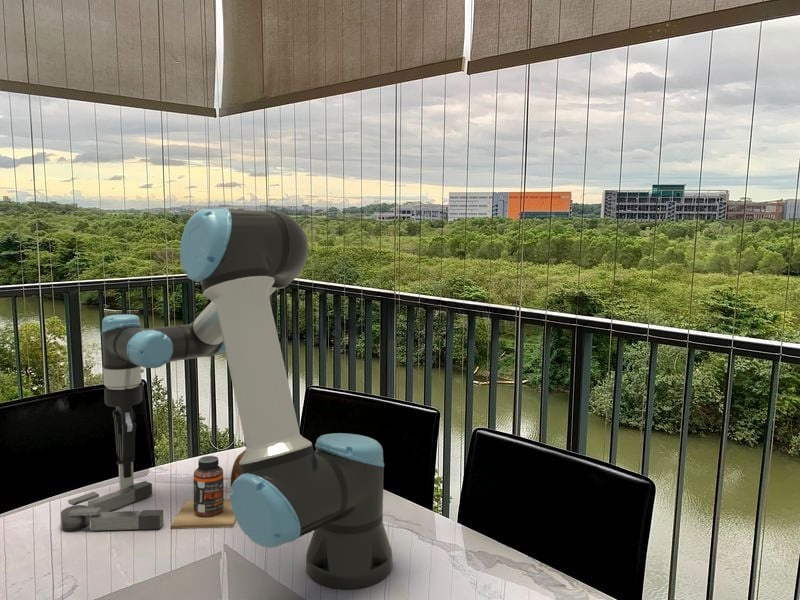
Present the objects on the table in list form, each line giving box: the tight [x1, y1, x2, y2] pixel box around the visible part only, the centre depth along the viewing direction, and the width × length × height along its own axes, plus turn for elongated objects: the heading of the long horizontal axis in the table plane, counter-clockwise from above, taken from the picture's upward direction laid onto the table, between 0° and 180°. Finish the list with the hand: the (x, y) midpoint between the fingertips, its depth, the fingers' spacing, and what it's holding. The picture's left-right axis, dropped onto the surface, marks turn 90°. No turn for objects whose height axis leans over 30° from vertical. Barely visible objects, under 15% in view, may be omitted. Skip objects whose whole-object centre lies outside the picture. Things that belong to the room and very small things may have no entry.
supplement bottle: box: [193, 455, 225, 517], centre depth 125 cm, size 6×6×11 cm
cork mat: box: [170, 498, 237, 530], centre depth 126 cm, size 12×12×1 cm
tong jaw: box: [67, 480, 153, 517], centre depth 128 cm, size 17×3×4 cm, turn 145°
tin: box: [230, 449, 246, 488], centre depth 141 cm, size 15×3×8 cm, turn 172°
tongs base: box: [60, 504, 165, 533], centre depth 120 cm, size 5×20×4 cm, turn 95°
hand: (126, 489), depth 134 cm, fingers closed
